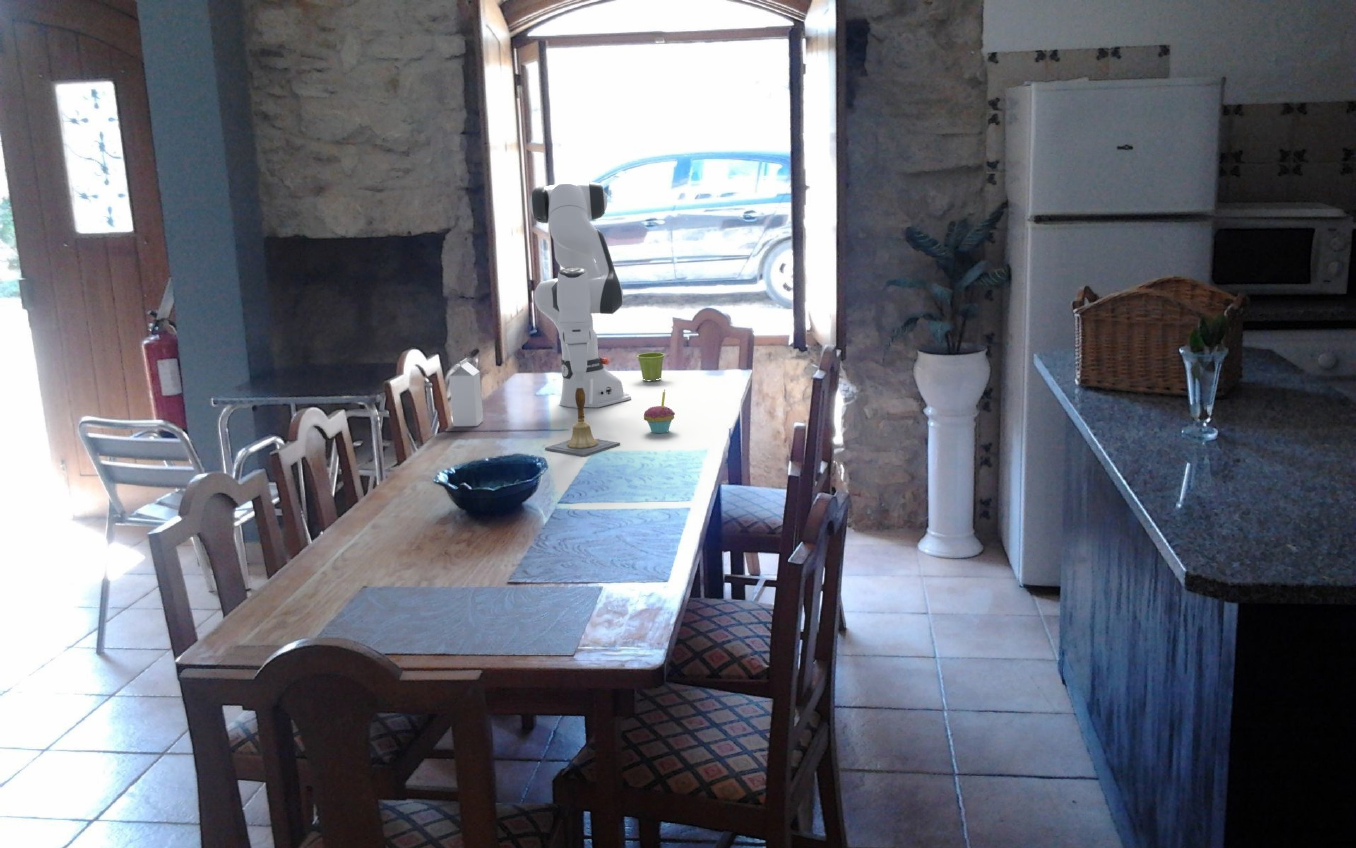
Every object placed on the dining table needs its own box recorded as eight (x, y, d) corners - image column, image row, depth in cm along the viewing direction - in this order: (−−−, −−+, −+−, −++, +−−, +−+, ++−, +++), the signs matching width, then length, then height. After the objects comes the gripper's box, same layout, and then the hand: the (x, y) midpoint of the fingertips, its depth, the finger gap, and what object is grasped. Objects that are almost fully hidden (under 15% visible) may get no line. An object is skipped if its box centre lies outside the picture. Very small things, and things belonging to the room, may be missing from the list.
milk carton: (483, 421, 343) (478, 357, 338) (477, 426, 336) (472, 361, 331) (460, 421, 343) (454, 358, 339) (453, 427, 336) (447, 362, 332)
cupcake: (679, 428, 324) (677, 386, 321) (669, 435, 316) (667, 392, 313) (650, 427, 327) (648, 385, 324) (639, 434, 319) (637, 391, 316)
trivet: (581, 438, 317) (581, 436, 317) (620, 444, 308) (619, 442, 308) (545, 449, 306) (544, 447, 306) (584, 456, 298) (583, 454, 297)
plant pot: (655, 383, 389) (654, 358, 387) (632, 381, 394) (631, 356, 392) (671, 378, 396) (670, 353, 394) (648, 376, 401) (647, 351, 400)
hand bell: (566, 441, 311) (563, 383, 307) (597, 439, 312) (594, 381, 308) (567, 449, 303) (563, 389, 299) (599, 447, 304) (595, 387, 300)
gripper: (563, 325, 310) (566, 376, 313) (564, 338, 290) (567, 392, 294) (586, 324, 311) (589, 375, 314) (589, 337, 291) (592, 391, 294)
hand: (579, 383), depth 304 cm, fingers open, 8 cm apart
